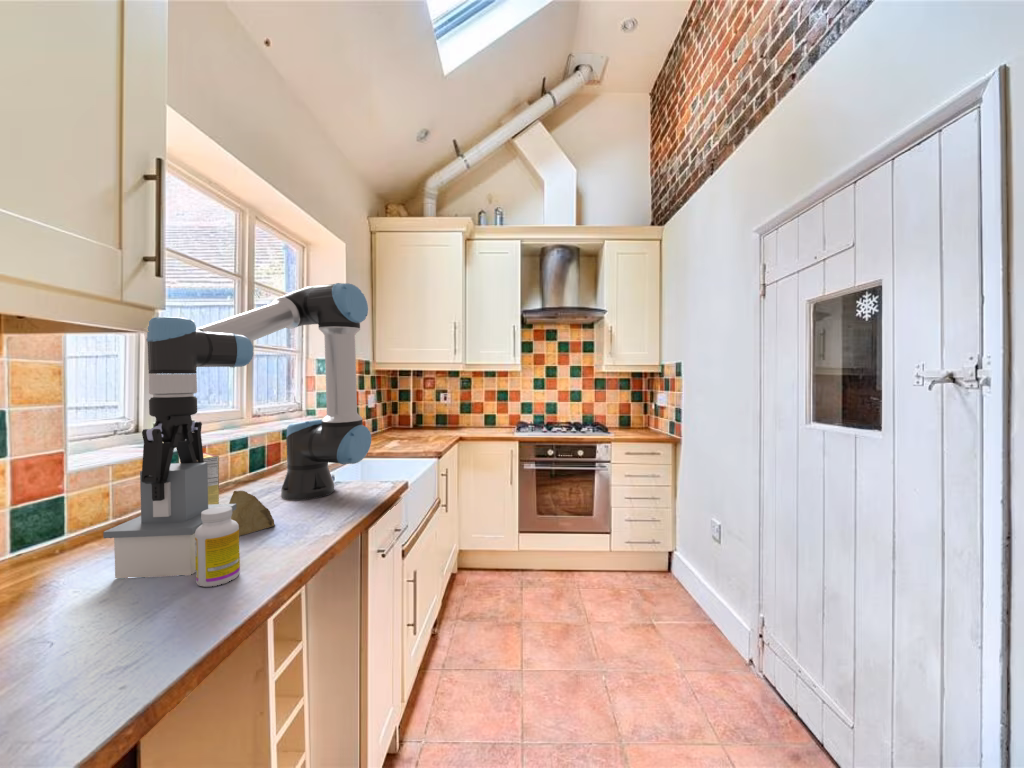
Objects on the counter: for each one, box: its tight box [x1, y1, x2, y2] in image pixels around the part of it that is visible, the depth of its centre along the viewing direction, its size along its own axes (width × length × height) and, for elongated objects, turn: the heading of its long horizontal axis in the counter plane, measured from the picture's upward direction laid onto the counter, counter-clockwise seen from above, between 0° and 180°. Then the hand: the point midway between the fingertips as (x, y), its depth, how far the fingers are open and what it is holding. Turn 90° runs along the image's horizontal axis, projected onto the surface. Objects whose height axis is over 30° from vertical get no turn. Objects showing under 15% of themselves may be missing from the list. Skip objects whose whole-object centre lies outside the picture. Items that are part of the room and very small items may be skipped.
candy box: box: [197, 452, 220, 505], centre depth 118 cm, size 9×4×15 cm, turn 55°
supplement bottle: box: [195, 506, 241, 588], centre depth 77 cm, size 7×7×13 cm
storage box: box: [113, 533, 196, 579], centre depth 85 cm, size 13×13×8 cm
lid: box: [102, 462, 236, 539], centre depth 85 cm, size 15×15×11 cm
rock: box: [228, 490, 276, 537], centre depth 101 cm, size 11×9×10 cm
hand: (176, 509), depth 85 cm, fingers closed on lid, 7 cm apart
